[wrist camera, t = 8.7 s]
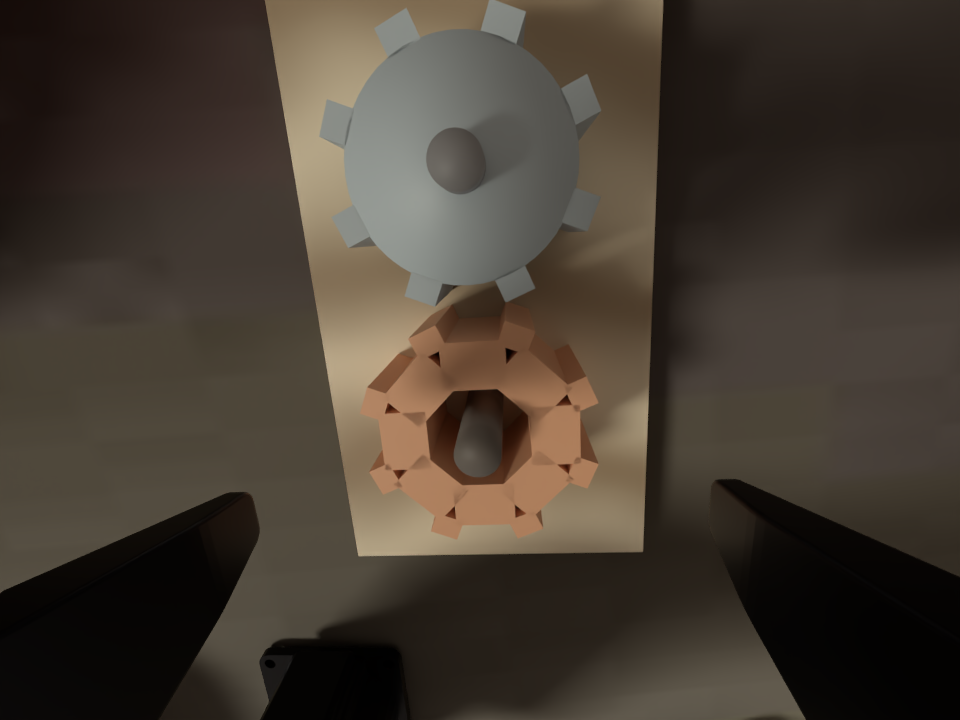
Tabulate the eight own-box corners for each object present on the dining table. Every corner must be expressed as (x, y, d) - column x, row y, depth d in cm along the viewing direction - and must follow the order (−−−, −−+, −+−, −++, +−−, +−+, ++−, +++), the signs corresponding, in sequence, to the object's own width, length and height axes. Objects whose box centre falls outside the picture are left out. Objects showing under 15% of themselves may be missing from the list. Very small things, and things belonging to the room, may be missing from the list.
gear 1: (578, 282, 14) (609, 303, 10) (383, 294, 15) (330, 319, 10) (576, 53, 12) (613, -45, 8) (355, 75, 13) (278, -5, 9)
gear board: (634, 531, 18) (690, 663, 12) (367, 536, 19) (309, 661, 13) (652, -78, 12) (766, -326, 7) (277, -32, 13) (114, -219, 8)
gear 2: (579, 472, 16) (599, 536, 13) (406, 478, 16) (380, 541, 13) (577, 296, 14) (598, 315, 11) (383, 308, 15) (346, 330, 11)
